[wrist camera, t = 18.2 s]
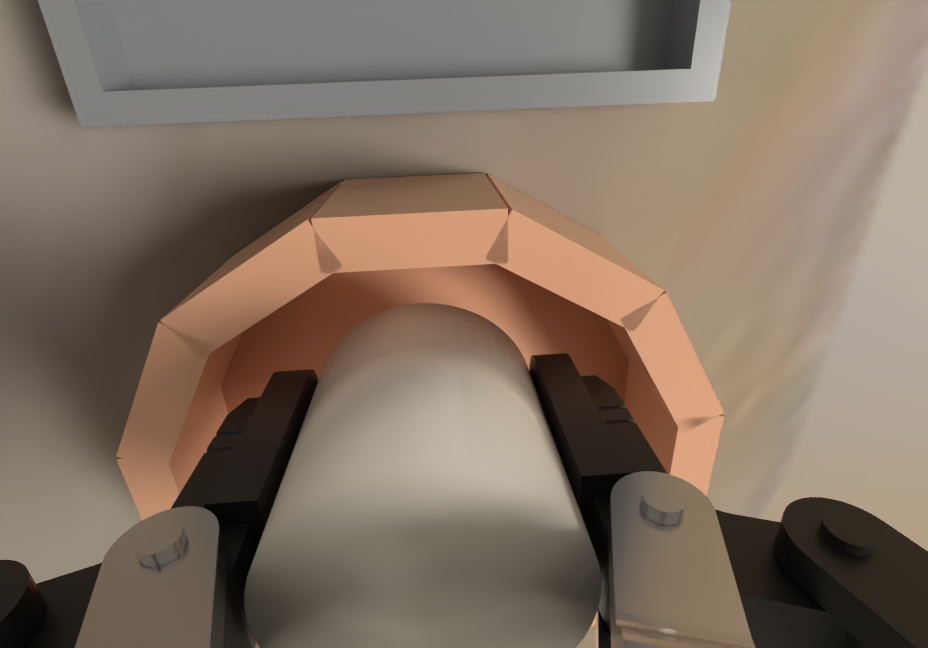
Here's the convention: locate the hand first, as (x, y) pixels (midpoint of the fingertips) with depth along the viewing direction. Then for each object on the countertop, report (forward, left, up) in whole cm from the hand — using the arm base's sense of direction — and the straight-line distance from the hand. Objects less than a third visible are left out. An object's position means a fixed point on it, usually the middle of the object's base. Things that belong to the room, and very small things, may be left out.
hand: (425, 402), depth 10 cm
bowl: (+3, 0, -4) cm, 5 cm away
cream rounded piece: (0, 0, 0) cm, 0 cm away
